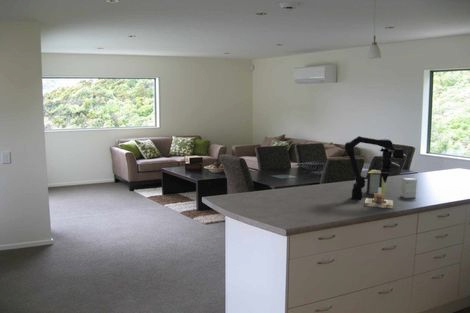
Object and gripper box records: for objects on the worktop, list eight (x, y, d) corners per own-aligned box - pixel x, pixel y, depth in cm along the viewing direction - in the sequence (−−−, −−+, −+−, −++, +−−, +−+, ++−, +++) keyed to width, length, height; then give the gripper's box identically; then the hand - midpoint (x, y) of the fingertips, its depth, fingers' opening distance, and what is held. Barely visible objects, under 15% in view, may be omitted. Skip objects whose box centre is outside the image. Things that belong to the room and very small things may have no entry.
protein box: (385, 191, 362) (386, 170, 360) (381, 195, 349) (382, 173, 347) (370, 190, 367) (372, 169, 365) (366, 193, 354) (367, 172, 351)
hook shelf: (364, 205, 316) (365, 197, 315) (365, 200, 330) (366, 192, 329) (392, 208, 311) (393, 199, 310) (392, 203, 325) (393, 195, 324)
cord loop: (373, 202, 320) (374, 187, 318) (373, 201, 322) (374, 186, 321) (384, 203, 318) (385, 188, 316) (384, 202, 320) (385, 187, 319)
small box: (411, 195, 349) (413, 177, 348) (415, 197, 343) (417, 179, 341) (400, 195, 348) (401, 177, 347) (404, 197, 342) (405, 179, 340)
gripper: (399, 161, 318) (397, 184, 320) (399, 157, 336) (397, 179, 338) (381, 159, 322) (380, 183, 324) (382, 156, 339) (380, 178, 341)
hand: (385, 181), depth 332 cm, fingers open, 9 cm apart
